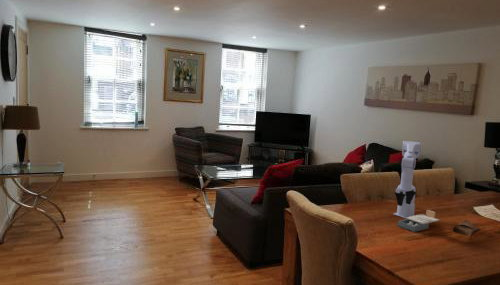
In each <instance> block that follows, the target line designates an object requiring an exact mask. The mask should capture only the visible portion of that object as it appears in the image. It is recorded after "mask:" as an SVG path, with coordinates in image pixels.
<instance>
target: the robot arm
mask: <svg viewBox="0 0 500 285" xmlns="http://www.w3.org/2000/svg"><path fill="white" fill-rule="evenodd" d="M421 147H422V142H421V141H419V142H418V141H411V140H408V141H407V140H403V141H402V147H401V150H402V151H401V154H402V159H401V174H400V184H398V186H397V188H396V189H395V191H394V195H395V198H396V202H397V203H396V204H397V208H396V209H397V210H396V212H394V213H393V215H394V216H397V217H401V218H403V219H406V217H410V216H416V215H415V209H416V204H415V201H416V194H417V192H416V190H417V189H416V186H414V184H413V180H414V171H415V168H416V162H417V160H416V159H419V157H420V154H421V149H422V148H421Z"/></svg>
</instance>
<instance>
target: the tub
mask: <svg viewBox="0 0 500 285" xmlns="http://www.w3.org/2000/svg"><path fill="white" fill-rule="evenodd" d="M397 227H399V228H400V229H403V230H406V231H409V232H412V233H415V232H419V231H424V230H428V229H429V227H430V223H427V224H421V223H418V222H415V221H412V220H409V219H406V218H404V219H401V220H398V221H397Z"/></svg>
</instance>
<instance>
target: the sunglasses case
mask: <svg viewBox="0 0 500 285" xmlns="http://www.w3.org/2000/svg"><path fill="white" fill-rule="evenodd" d="M479 230H481V229H480V227H478V226H476V225H474V224H472V223H471V222H470V221H469V220H468V219H466V220H465V219H464V220H463V221H461V222H459V223H458V224H456V225H455V226H454V227H453V229H452V231H453V233H457V234H460V235H463V236H468V237H471V236H472V235H473V234H475V233H477V232H478V231H479Z"/></svg>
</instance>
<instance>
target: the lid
mask: <svg viewBox="0 0 500 285" xmlns="http://www.w3.org/2000/svg"><path fill="white" fill-rule="evenodd" d="M405 219H409V220H412V221H415V222H418V223H421V224H427V223H429V224H430V223H436V222H440V219H439V218H436V211H433V210H430V209H426V212H425V214H424V213H422V214H421V213H420V214H416V215H415V216H410V217H406V218H405Z"/></svg>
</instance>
